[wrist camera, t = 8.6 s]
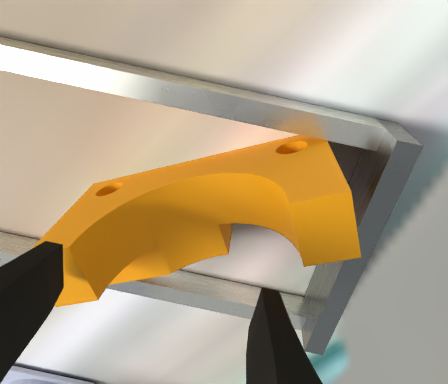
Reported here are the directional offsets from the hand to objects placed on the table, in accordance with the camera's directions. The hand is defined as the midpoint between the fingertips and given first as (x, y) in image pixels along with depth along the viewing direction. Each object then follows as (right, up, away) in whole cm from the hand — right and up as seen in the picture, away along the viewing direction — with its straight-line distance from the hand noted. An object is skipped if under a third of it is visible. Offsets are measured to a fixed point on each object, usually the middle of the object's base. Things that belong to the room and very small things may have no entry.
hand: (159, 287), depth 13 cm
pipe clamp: (+2, +3, +6) cm, 7 cm away
